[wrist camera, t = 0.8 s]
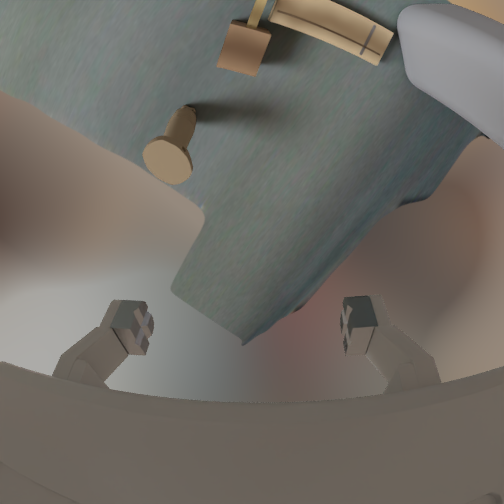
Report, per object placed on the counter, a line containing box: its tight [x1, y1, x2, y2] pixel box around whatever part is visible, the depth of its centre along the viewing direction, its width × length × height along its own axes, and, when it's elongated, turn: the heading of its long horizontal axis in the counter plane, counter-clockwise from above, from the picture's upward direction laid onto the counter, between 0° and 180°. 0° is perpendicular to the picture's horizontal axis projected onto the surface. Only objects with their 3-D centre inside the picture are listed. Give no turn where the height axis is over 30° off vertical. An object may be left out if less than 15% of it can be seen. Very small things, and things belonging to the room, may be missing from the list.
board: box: [268, 0, 394, 66], centre depth 31 cm, size 6×16×4 cm, turn 72°
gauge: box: [216, 0, 271, 77], centre depth 31 cm, size 11×5×7 cm, turn 162°
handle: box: [142, 105, 196, 185], centre depth 38 cm, size 5×6×15 cm
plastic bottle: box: [397, 4, 504, 149], centre depth 23 cm, size 15×15×28 cm
